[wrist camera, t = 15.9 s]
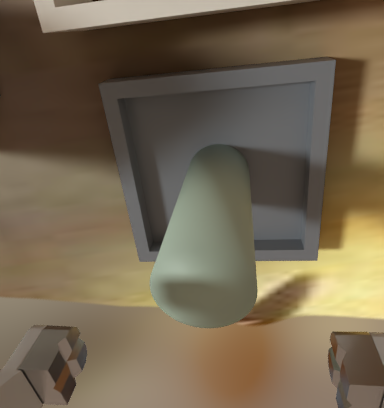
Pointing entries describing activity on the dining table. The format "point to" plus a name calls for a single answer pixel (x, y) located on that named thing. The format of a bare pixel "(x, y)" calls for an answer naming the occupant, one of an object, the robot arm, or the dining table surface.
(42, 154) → the dining table surface
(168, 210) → the tray
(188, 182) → the dowel pin
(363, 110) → the dining table surface
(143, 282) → the dining table surface
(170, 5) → the white open box
